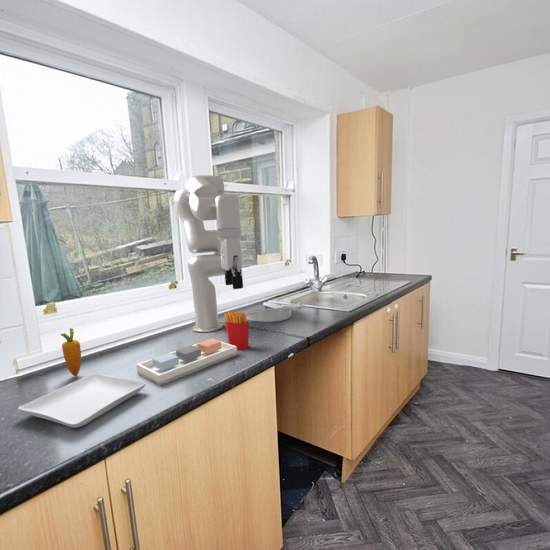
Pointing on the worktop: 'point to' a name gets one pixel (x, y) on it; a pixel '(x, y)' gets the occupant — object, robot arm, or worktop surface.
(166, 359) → the dusty blue key
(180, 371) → the white rectangular tray
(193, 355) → the charcoal key
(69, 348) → the carrot
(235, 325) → the french fries
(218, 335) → the worktop surface
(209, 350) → the terracotta key
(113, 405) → the salad plate
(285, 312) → the frying pan
